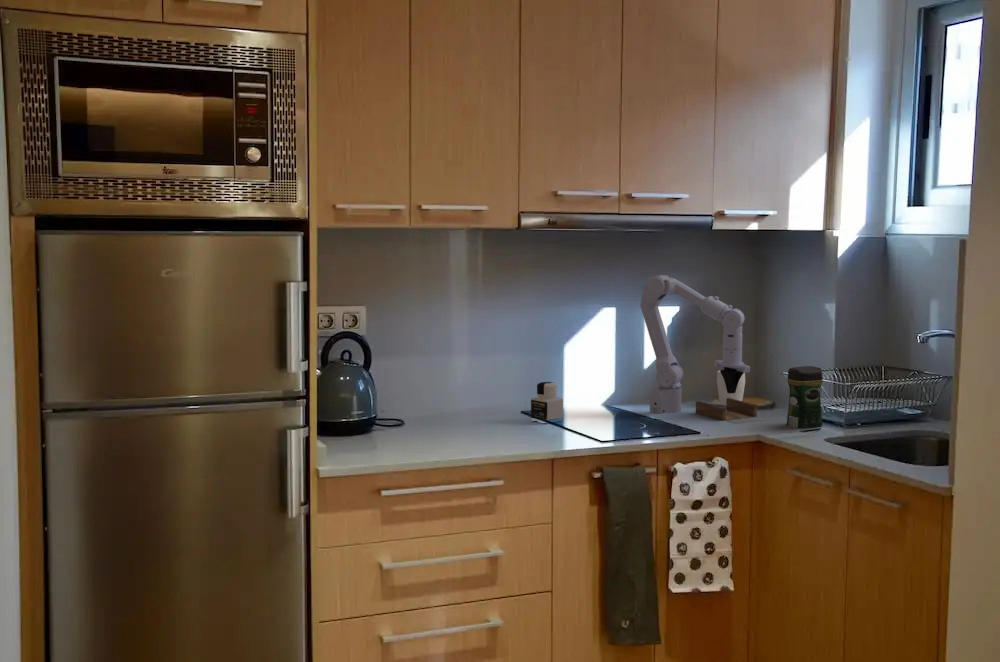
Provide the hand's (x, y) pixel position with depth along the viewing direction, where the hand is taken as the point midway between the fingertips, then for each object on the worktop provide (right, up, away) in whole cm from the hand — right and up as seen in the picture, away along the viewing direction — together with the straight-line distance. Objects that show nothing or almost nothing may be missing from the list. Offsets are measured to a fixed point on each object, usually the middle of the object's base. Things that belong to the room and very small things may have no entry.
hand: (731, 392), depth 300 cm
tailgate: (+2, -8, -5) cm, 9 cm away
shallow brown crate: (-1, -8, +2) cm, 8 cm away
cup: (+4, -6, +20) cm, 21 cm away
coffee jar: (+18, -10, -15) cm, 25 cm away
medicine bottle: (-56, -9, +1) cm, 57 cm away
